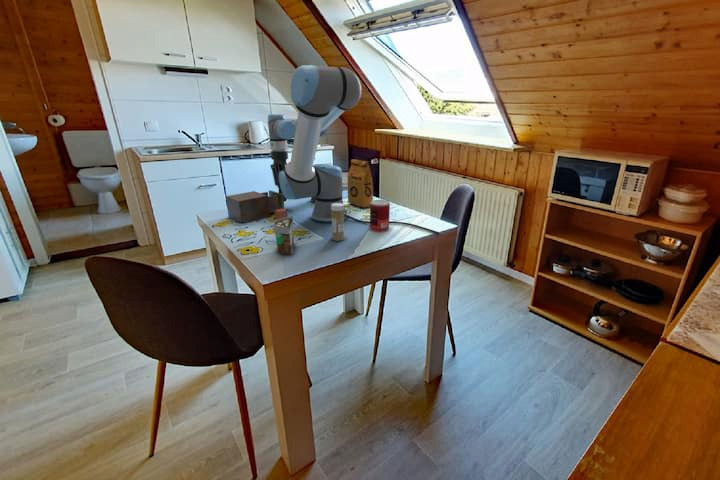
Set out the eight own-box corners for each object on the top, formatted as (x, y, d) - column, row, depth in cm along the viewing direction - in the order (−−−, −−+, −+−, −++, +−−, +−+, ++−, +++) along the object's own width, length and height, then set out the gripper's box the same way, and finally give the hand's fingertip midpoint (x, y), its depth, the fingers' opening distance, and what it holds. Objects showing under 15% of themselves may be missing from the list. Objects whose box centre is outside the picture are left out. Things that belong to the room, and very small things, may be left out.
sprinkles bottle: (344, 241, 127) (344, 205, 122) (332, 241, 126) (331, 206, 122) (343, 236, 131) (343, 202, 126) (331, 237, 131) (330, 202, 126)
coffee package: (361, 209, 166) (361, 163, 158) (345, 203, 174) (344, 159, 166) (376, 205, 172) (377, 160, 164) (359, 200, 180) (360, 157, 172)
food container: (277, 243, 125) (274, 216, 121) (294, 242, 125) (292, 216, 122) (271, 257, 113) (269, 228, 110) (290, 256, 114) (288, 227, 110)
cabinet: (256, 211, 162) (254, 191, 158) (269, 216, 154) (267, 195, 151) (228, 217, 153) (225, 196, 149) (241, 223, 145) (238, 201, 142)
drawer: (282, 203, 171) (281, 188, 168) (295, 207, 164) (294, 191, 161) (248, 211, 158) (246, 194, 155) (260, 216, 152) (258, 198, 149)
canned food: (390, 226, 143) (392, 200, 139) (385, 232, 136) (386, 205, 132) (373, 224, 145) (373, 198, 141) (367, 230, 138) (367, 203, 134)
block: (288, 218, 151) (287, 210, 150) (280, 220, 148) (279, 212, 147) (282, 216, 154) (282, 208, 152) (275, 218, 151) (274, 210, 150)
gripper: (263, 149, 157) (268, 200, 166) (280, 152, 149) (284, 205, 157) (277, 148, 162) (281, 197, 171) (294, 150, 154) (297, 202, 162)
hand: (283, 201), depth 164 cm, fingers closed
